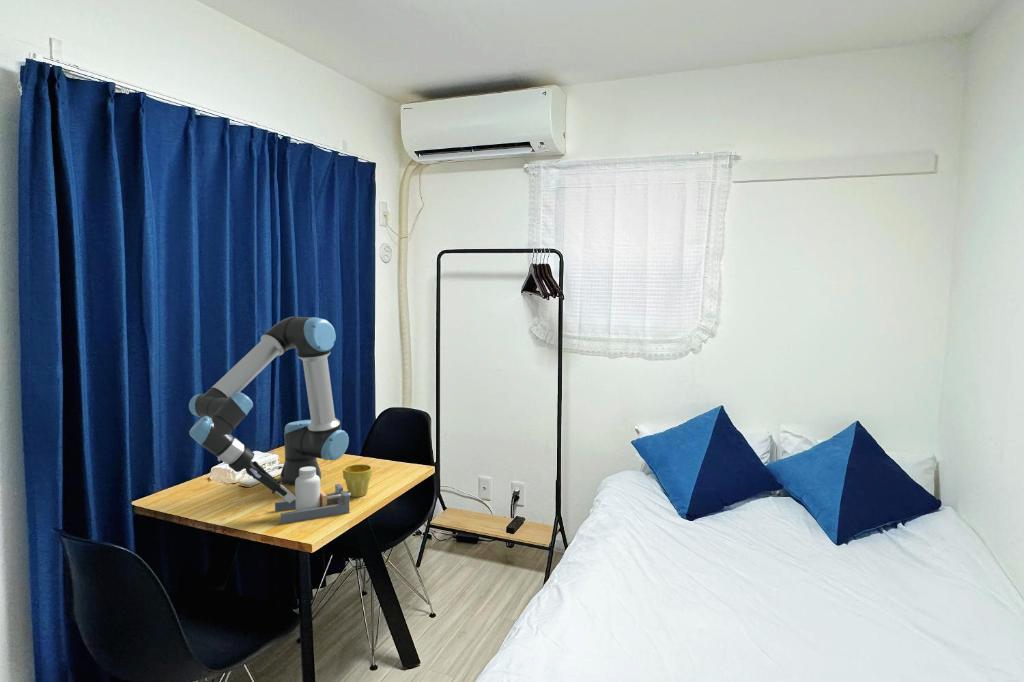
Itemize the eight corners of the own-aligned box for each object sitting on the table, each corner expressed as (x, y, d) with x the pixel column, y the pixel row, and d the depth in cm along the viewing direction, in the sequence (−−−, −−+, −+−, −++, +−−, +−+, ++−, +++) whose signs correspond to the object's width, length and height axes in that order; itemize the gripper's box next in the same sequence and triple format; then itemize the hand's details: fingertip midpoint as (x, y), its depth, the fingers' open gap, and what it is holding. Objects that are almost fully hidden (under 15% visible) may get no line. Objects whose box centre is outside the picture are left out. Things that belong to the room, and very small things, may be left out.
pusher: (323, 513, 195) (323, 496, 195) (317, 505, 203) (317, 488, 202) (353, 508, 200) (353, 491, 200) (347, 500, 208) (347, 483, 207)
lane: (281, 524, 187) (281, 505, 186) (274, 510, 198) (274, 493, 197) (349, 512, 197) (349, 495, 197) (339, 500, 209) (339, 483, 208)
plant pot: (339, 498, 210) (339, 472, 209) (347, 489, 221) (347, 463, 220) (368, 499, 211) (368, 472, 210) (374, 489, 221) (374, 464, 220)
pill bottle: (298, 508, 200) (298, 465, 199) (323, 507, 201) (323, 465, 200) (292, 517, 193) (292, 472, 191) (317, 516, 193) (317, 472, 192)
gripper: (225, 459, 189) (280, 502, 199) (228, 470, 178) (287, 515, 188) (243, 441, 191) (297, 484, 201) (247, 451, 180) (304, 496, 190)
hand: (292, 499), depth 194 cm, fingers closed
